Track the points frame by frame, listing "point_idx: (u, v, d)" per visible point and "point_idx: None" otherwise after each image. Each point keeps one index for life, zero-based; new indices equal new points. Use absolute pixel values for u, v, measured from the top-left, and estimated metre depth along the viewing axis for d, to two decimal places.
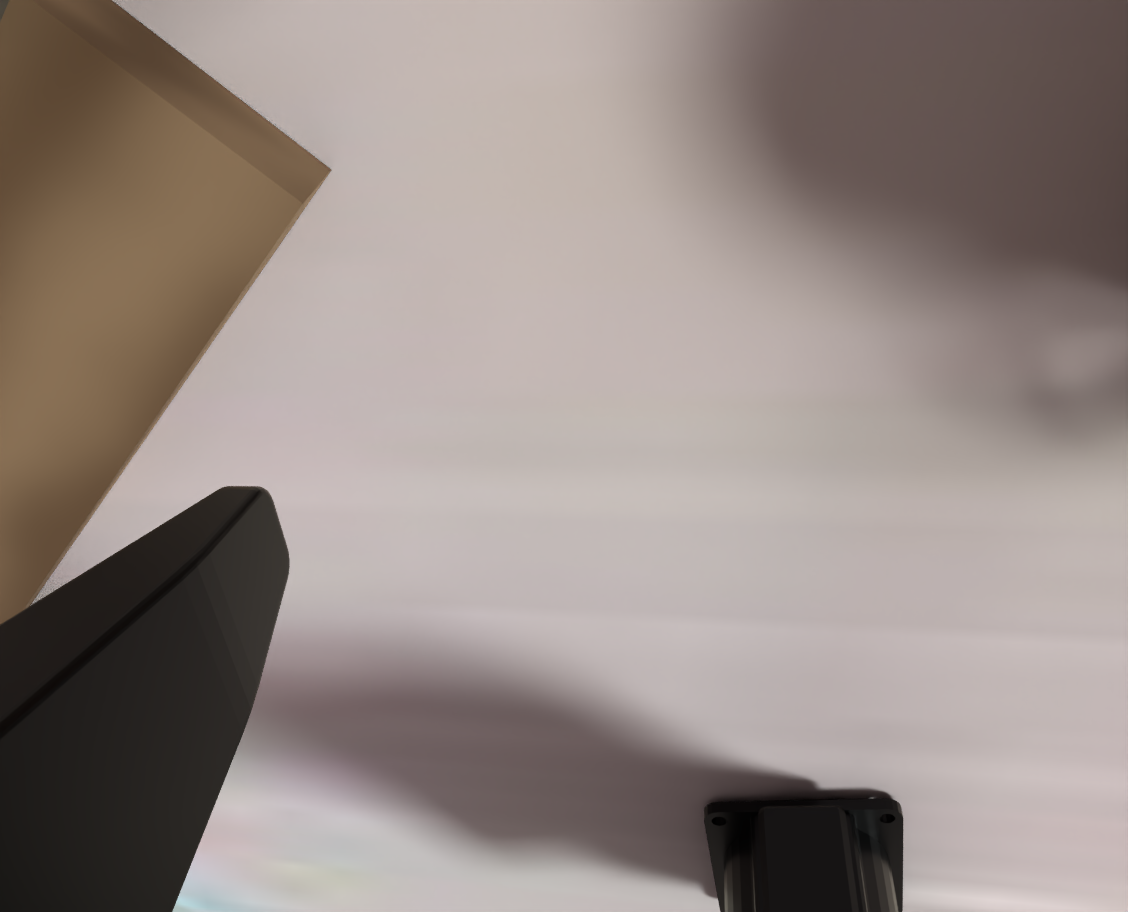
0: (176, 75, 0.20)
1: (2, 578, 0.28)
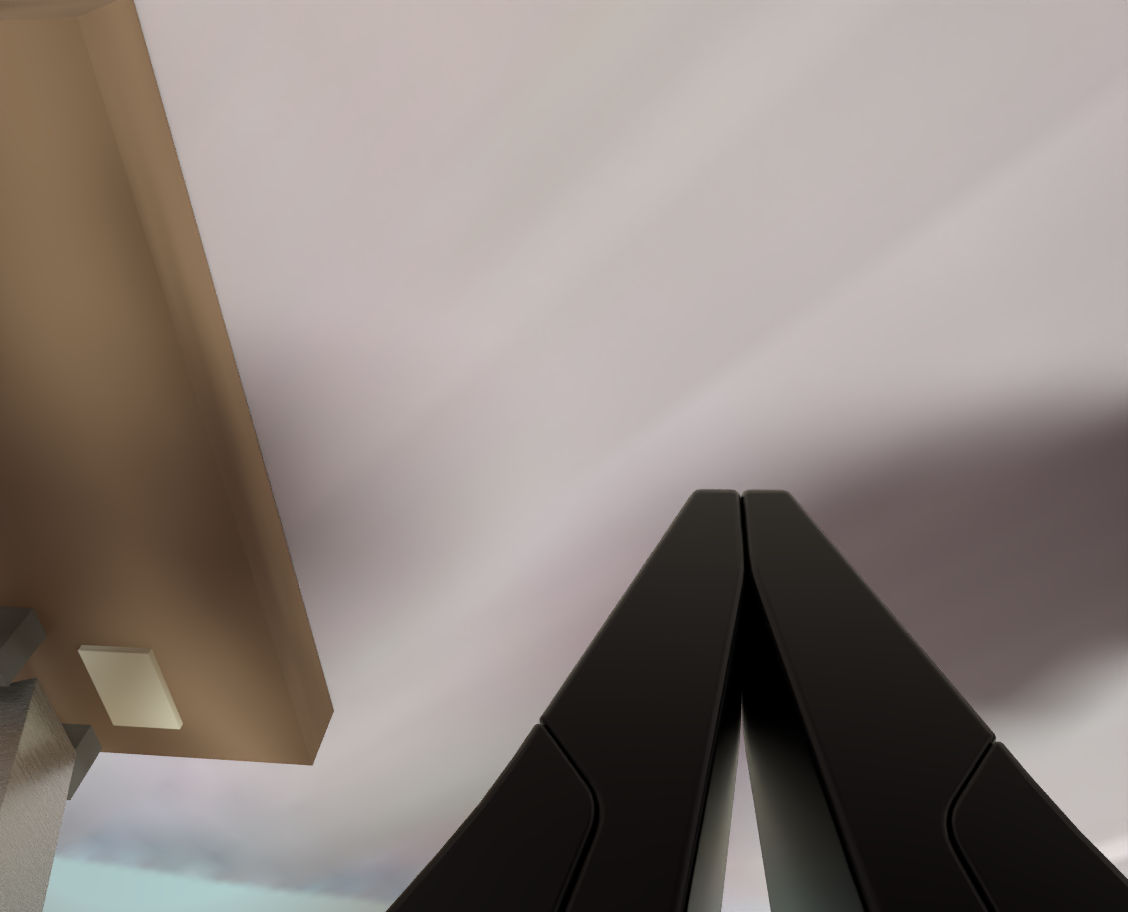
0: None
1: (246, 661, 0.26)
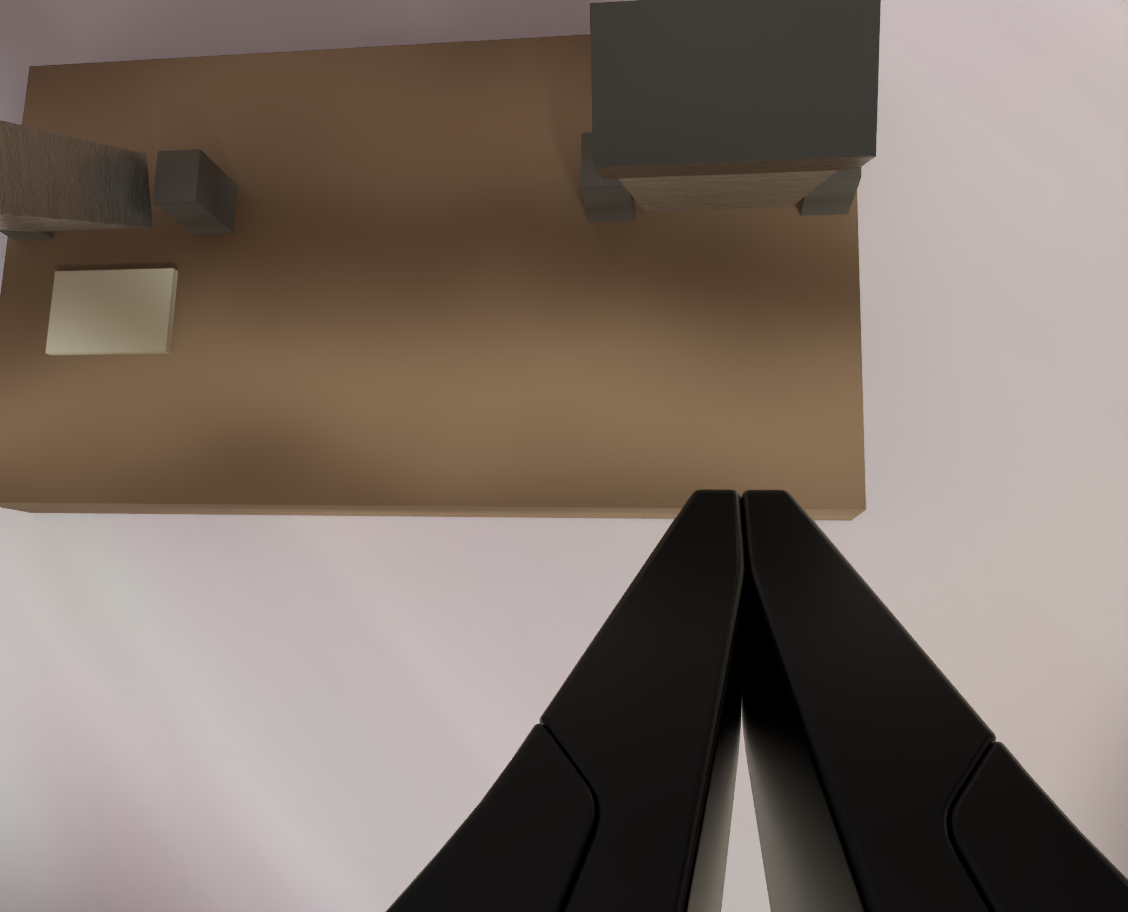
0: None
1: (146, 462, 0.23)
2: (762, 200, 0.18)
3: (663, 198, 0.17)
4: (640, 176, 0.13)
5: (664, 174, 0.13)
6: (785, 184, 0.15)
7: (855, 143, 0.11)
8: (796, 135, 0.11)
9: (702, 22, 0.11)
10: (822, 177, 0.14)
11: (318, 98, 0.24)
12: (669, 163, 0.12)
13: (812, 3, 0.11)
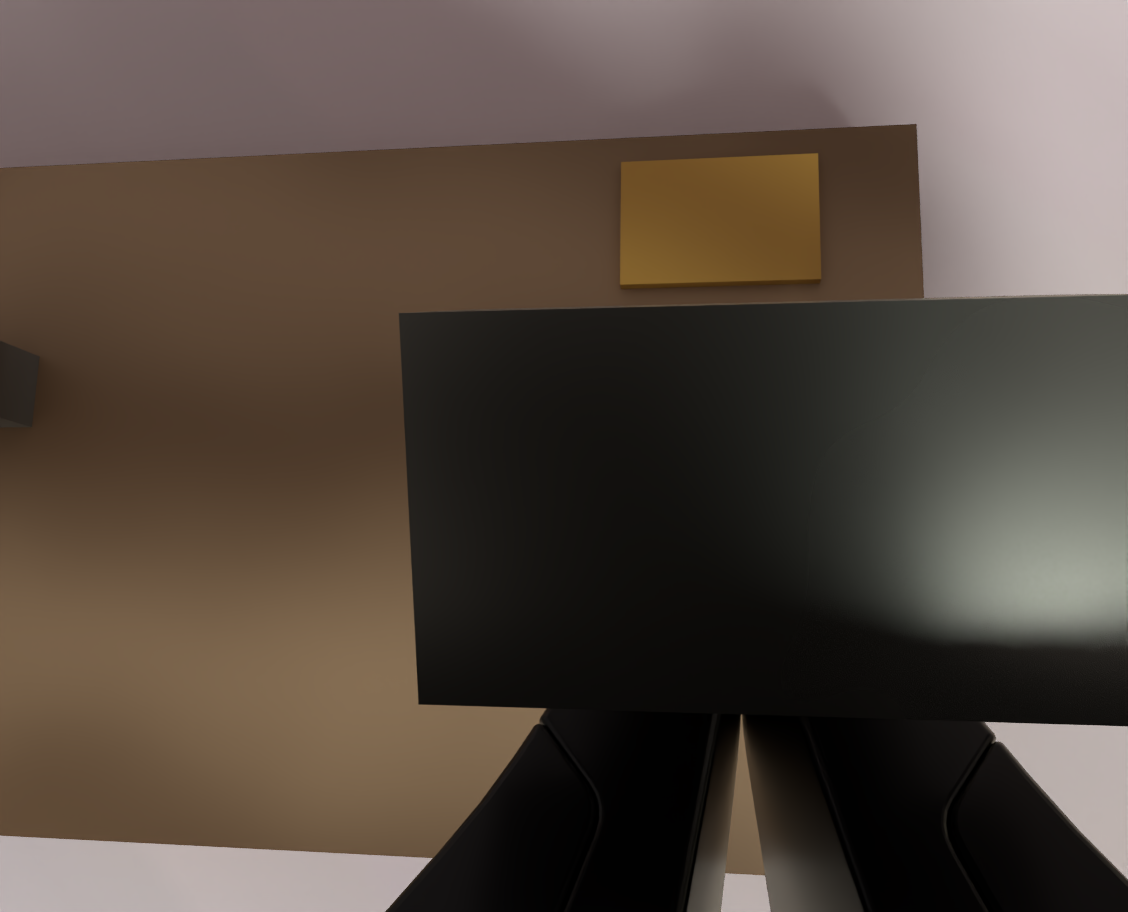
0: None
1: None
2: None
3: None
4: None
5: None
6: None
7: (1102, 690, 0.04)
8: (941, 663, 0.04)
9: (691, 370, 0.04)
10: None
11: (154, 230, 0.17)
12: (609, 704, 0.05)
13: (991, 332, 0.04)
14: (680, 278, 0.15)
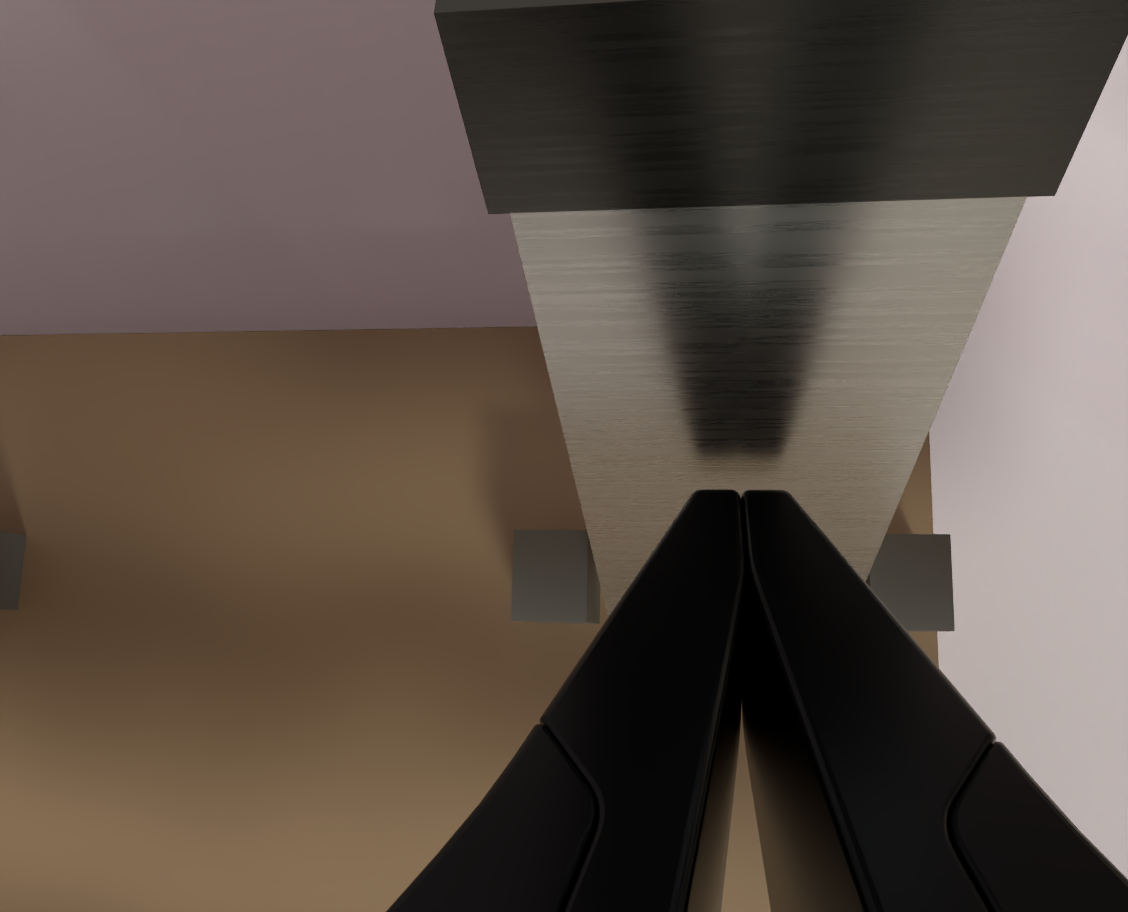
0: None
1: None
2: None
3: (634, 522, 0.10)
4: (564, 187, 0.06)
5: (617, 177, 0.06)
6: (859, 432, 0.08)
7: None
8: None
9: None
10: (941, 368, 0.07)
11: (145, 406, 0.16)
12: (621, 5, 0.05)
13: None
14: None
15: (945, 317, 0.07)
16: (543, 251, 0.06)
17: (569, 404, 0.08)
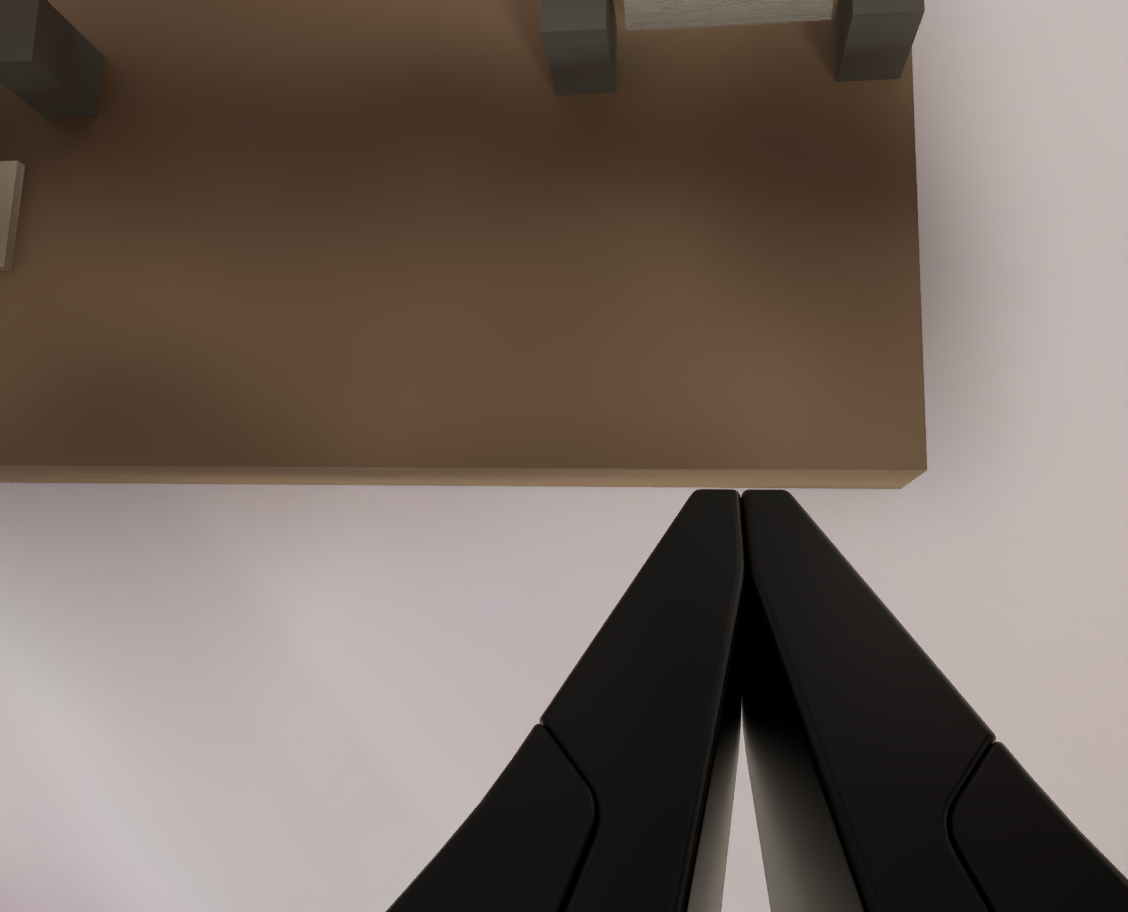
0: None
1: None
2: None
3: None
4: None
5: None
6: None
7: None
8: None
9: None
10: None
11: None
12: None
13: None
14: None
15: None
16: None
17: None
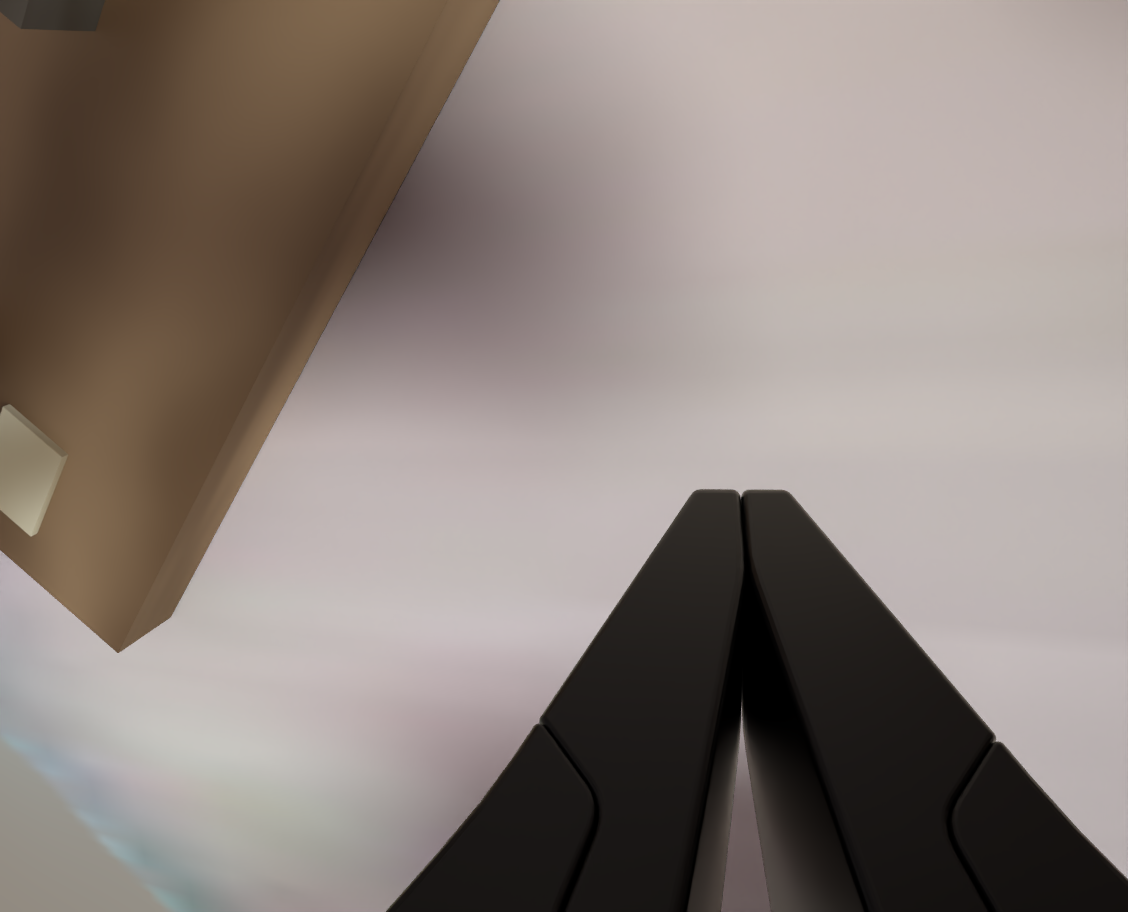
0: None
1: (140, 528, 0.25)
2: None
3: None
4: None
5: None
6: None
7: None
8: None
9: None
10: None
11: None
12: None
13: None
14: None
15: None
16: None
17: None
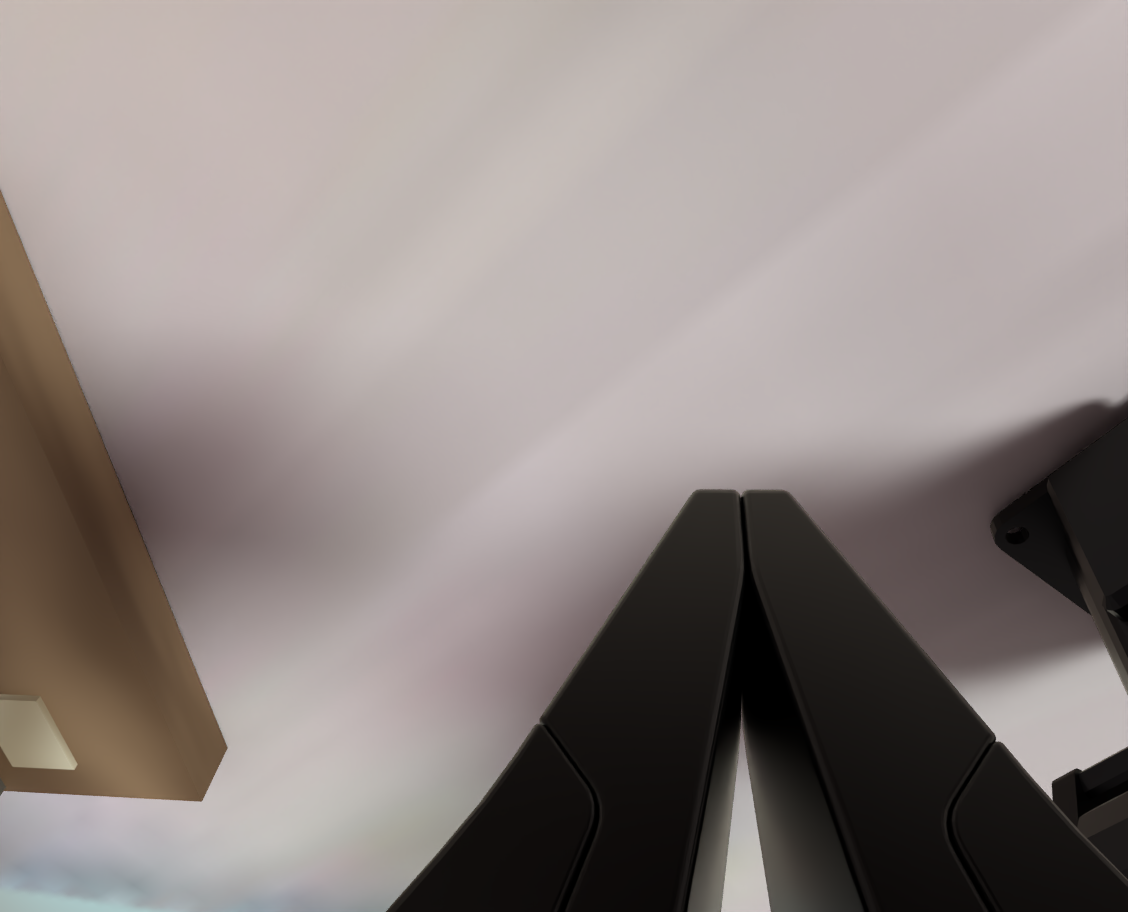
0: None
1: (128, 706, 0.28)
2: None
3: None
4: None
5: None
6: None
7: None
8: None
9: None
10: None
11: None
12: None
13: None
14: None
15: None
16: None
17: None
